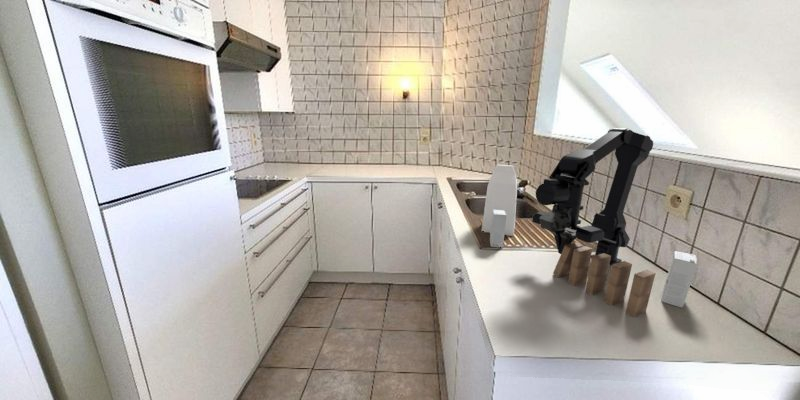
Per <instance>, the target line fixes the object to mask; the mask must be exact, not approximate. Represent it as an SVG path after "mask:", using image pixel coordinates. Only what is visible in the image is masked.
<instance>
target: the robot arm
mask: <svg viewBox="0 0 800 400" xmlns="http://www.w3.org/2000/svg"><path fill="white" fill-rule="evenodd" d="M653 147H654V141H653V140H652V139H651V137H650V136H649V135H644V134H641V133H638V132H635V131H633V130H632V129H629V128H622V127H620V128H619V127H617V128H616V127H613V128H610V129H608V131H607V132H606V133H605V134H604V135H602V136H601V137H599V138H598V139H597V140H595V141H594V142H593V143H591V144H590V145H588V146H587V147H585V148H584V149H581V150H578V151H572V152H569V153H567V154H565V155H563V156H561V158H560V159H559V162H558V163H557V164H556V166H555V168H554V170H552V172H551V174H550V176H549V177H548V178H544V179H543V183H541V184H540V185H539V186H538V187H537V188H536V190H535V197H536V200H537V202H538V203H539V204H540V205H542V206H552V205H553V206H552V209H551V210H550V211H547V210H545V211H538V212H535V213H534V214H532V220H531V221H532V223H535V224H537V225H540V228H541V229H545V230H547V231H549V232H550V233H551V234H553V237H554V241H555V244H556V248H557V253H558V254H559V255H561V253H562V251H563V249H564V246H565V245H567V244H571V243H574V241H575V240H576V239H577V240H580V241H581V242H582V241H583V242H585V243H589V244H590V243H596V242H597V245H596V250H595V253H594V254H591V258H592V256H595V255H599V254H603V253H605V254H608V255H610V256H611V259H610V264H609V266H612V265H613V264H616V263H619V262H623V261H622V259H621V258H618V255H619V250H620V248H626V246H628V244H629V242H630V239H631V238H630V237H629V235H628V233H627V231H626V226H627V221H626V217H625V216H624V211H625V207H626V204H627V201H628V199H629V195H630V192H631V188H632V186H633V182H634V179H635V176H636V173H637V169H638V167H639V166H640V165H641V164H643V163H644V161H646V160H647V159H648V157H649V155H650V152H651V151H652V149H653ZM613 151H614V155H615V159H616V161H617V165H616V169H615V172H614V176H613V180H612V182H611V186H610V189H609V192H608V195H607V197H606V198H607V199H606V201H605V205H604V208H603V209H602V210H601V211H600V212H599V213H598V212H596V213H594V215H593V221H592V223H591V225H586V226H579V225H581V224H582V220H581V219H580V218H579V217H580V211H583V210H584V207H585V206H584V205H582V202H583V201H582V198H583V196H584V195H583V194H584V188H585V186H590V182H589V181H588V180H587V179H586V178H588V177H589V176H591V174H592V173H593V172H594V171H595V170H596V166H597V164H598V162H600V161H601V160H603V159H604V158H605V157H607V156H608V155H609V154H611V153H612V152H613Z"/></svg>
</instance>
